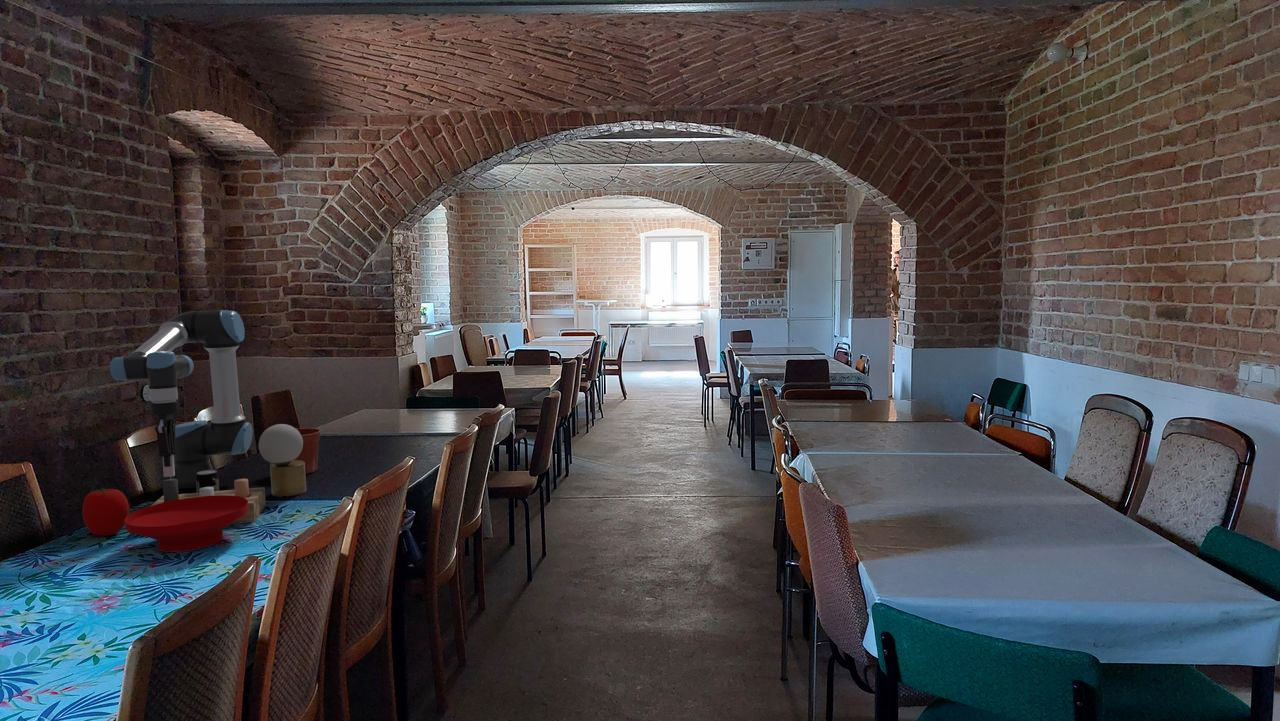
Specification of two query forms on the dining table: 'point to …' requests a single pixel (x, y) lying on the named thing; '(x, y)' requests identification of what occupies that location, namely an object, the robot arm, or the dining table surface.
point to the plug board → (254, 500)
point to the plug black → (170, 490)
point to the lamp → (284, 459)
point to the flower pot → (309, 448)
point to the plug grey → (206, 491)
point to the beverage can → (207, 480)
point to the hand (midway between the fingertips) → (169, 476)
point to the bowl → (187, 521)
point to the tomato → (105, 511)
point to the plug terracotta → (241, 488)
